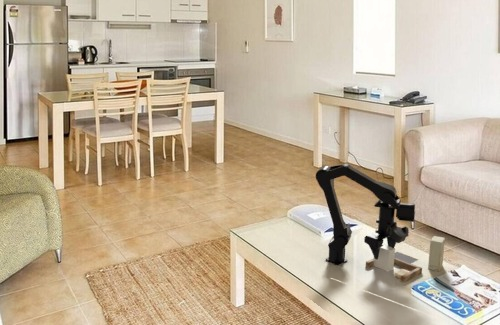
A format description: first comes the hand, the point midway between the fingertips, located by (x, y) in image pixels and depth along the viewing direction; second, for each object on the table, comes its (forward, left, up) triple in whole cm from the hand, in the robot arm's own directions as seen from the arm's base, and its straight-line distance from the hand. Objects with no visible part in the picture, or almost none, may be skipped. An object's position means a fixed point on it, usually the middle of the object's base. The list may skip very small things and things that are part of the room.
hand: (383, 256), depth 198 cm
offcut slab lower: (0, -9, -6) cm, 11 cm away
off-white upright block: (0, 0, -5) cm, 5 cm away
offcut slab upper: (0, -9, -5) cm, 10 cm away
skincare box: (+16, -13, -5) cm, 21 cm away
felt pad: (+13, 0, -5) cm, 14 cm away
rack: (+1, -4, -5) cm, 7 cm away
